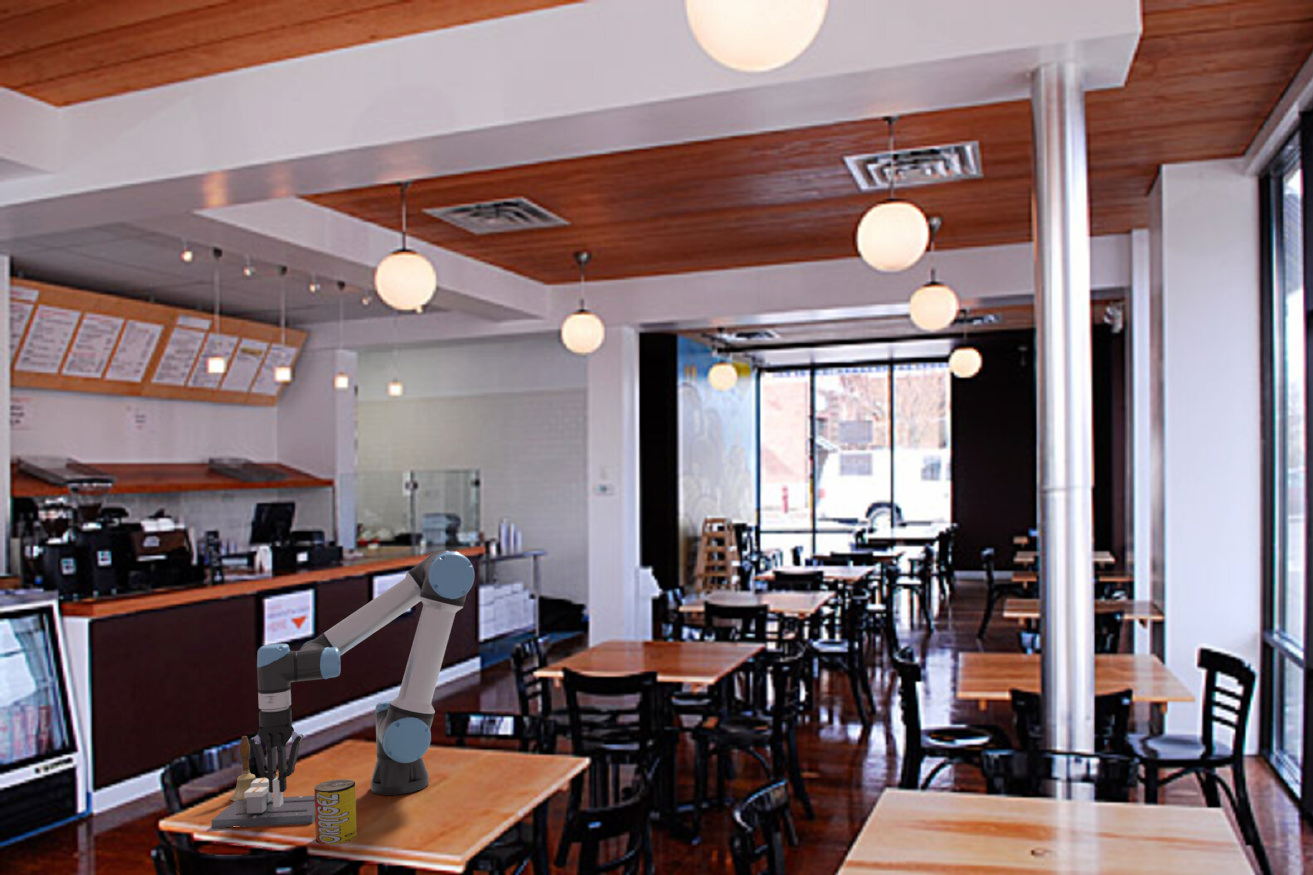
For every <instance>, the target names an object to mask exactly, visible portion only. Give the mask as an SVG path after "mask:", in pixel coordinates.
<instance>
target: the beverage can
mask: <svg viewBox="0 0 1313 875" xmlns="http://www.w3.org/2000/svg"><path fill="white" fill-rule="evenodd" d="M313 794H314V796H315V821H314V822H315V824H314V825H315V828H314V829H315V842H316V843H318V844H319V845H324V846H325V845H328V846H329V845H338V844H344V843H347V842H349V840H350V841H353V840H354V839H355V838H356V837H357V836H358V834H357V833H358V832H357V829H358V828H357V803H356V802H357V801H356V797H357V796H356V781H355V780H353V779H349V778H348V779H347V778H343V779H340V778H339V779H332V780H327V781H323V782H319V783H318V784H316V785H314V793H313ZM356 835H357V836H356Z"/></svg>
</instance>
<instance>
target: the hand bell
mask: <svg viewBox="0 0 1313 875" xmlns="http://www.w3.org/2000/svg"><path fill="white" fill-rule="evenodd" d="M239 753H240V757H241V761H242V764H241V765H242V774H241V775H239V776H238V777H237V779H236V780H237V781H236V787H235V789H234V792H233V794H232V795H231V796H230V797H229V800H230V801H231V800H233V801H232V802H234V801H236V800H238V799H247V798H244V792H246V791H247V790H248V789H249V788H251V783H252V782H253V781H254V780H255V779H257V777H256V775H255V774H253V773H251V771H250V760H249V759H250V755H251V745H250V744H249V739H248V736H247V735H242V736H241V740H240V743H239Z"/></svg>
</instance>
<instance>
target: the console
mask: <svg viewBox="0 0 1313 875" xmlns="http://www.w3.org/2000/svg"><path fill="white" fill-rule="evenodd" d="M314 822H315V795H301V796H300V795H299V796H283V804H282V805H281V806H280V807H273V797H272V800H271V801H270V802H268V803H266V810H265V811H263V812H262V813H248V814H247V799H238V800H236V801H235V802H234V801H233V802H232V803H231V804H230V805H228V806H227V807H226V808H225V809H223V811H221V812H220V813H219V814H217V815H216V816H215V817H214V818H212V819H211V830H212V829H214V830H215V829H227V828H226V827H233V826H240V827H239V828H250V827H251V828H254V827H268V826H269V827H270V826H271V827H272V826H273V827H274V826H288V825H289V826H291V825H290V824H293V825H309V824H311V825H312V824H313V823H314ZM223 827H225V828H223Z"/></svg>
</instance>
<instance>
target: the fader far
mask: <svg viewBox="0 0 1313 875" xmlns="http://www.w3.org/2000/svg"><path fill="white" fill-rule="evenodd" d="M258 786H260V787H268V792H267V793H266V803H268V802H270V801H271V800H272V798H273V793H270V792H269V780H268V779H267V778H262V777H260V778H256V779H255V780H254V781H253V782H252V783H251V788H254V787H258Z"/></svg>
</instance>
